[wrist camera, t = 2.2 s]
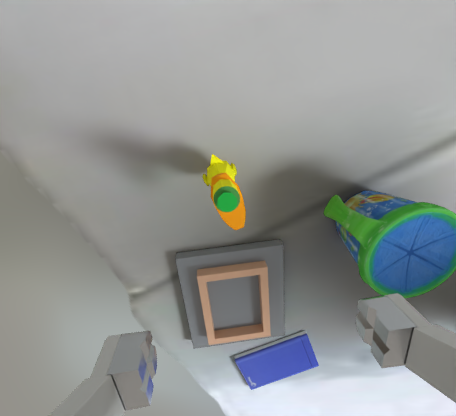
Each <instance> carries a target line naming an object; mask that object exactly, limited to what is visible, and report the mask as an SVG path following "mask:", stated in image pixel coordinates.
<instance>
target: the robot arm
mask: <svg viewBox="0 0 456 416" xmlns="http://www.w3.org/2000/svg"><path fill="white" fill-rule="evenodd" d="M357 308H358V309H359V310H360V312H359V313H358V314H357V315H356V327H357V330H358V333H359V335H360V337H361V338H362V340H363V341H364V342H366V343H367V344H369V345H371V353H372V354H373V356H374V357H375V359H376V360H377V362H378V363H379V365H380V366H381V368H387V367H394V366H402V365H405V367H407V368H408V369H409V370H411V371H412V372H413V373H415V374H416V375H418V376H419V377H420V378H422V379H423V380H425V381H426V382H427V383H429V384H430V385H432V386H433V387H434V388H436V389H437V390H439V391H440V392H441V393H443V394H444V395H446V396H447V397H448V398H450V399H451V400H453V401H454V402H455V403H456V333H454V332H452V331H450V330H447V329H445V328H443V327H441V326H439V325H436V324H435V325H432V324H431V323H430V322H429V321H428V320H427V319H425V318H424V317H423V316H422V315H421V314H420V313H419V312H418V311H417V310H416V309H415V308H414V307H413V306H412V305H411V304H410V303H409V302H408V301H407V300H406V299H405V298H404V297H403V296H402V295H400V294H398V293H396V294H389V295H384V296H377V297H371V298H364V299H359V301H358V304H357ZM151 342H152V335H151V332H150V331H143V332H136V333H127V334H121V335H113V336H108V337H107V339H106V340H105V342H104V345H103V347H102V350H101V352H100V355H99V357H98V359H97V362H96V364H95V367H94V369H93V372H92V374H91V377H90V378H88V379H85V380H84V381H83V382H82V383H81V384H80V385H79V386H78V387H77V388H76V389H75V390H74V391H73V392H72V393H71V394H70V395H69V396H68V397H67V398H66V399H65V400H64V401H63V402H62V403H61V404H60V405H59V406H58V407H57V408H56V409H55V410H54V411H53V412H52V413H51V414H50V415H49V416H123V415H124V414H125V411H126V410H131V409H136V408H141V407H146V406H150V404H151V398H152V392H153V383H152V380H151V379H152V378H153V376H154V375H155V374H156V368H157V354H156V349H155V346H153V345H152V344H151Z"/></svg>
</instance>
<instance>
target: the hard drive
mask: <svg viewBox="0 0 456 416" xmlns="http://www.w3.org/2000/svg"><path fill="white" fill-rule="evenodd" d="M234 359H235V362H236V364H237V366H238V368H239V369H240V371H241V373H242V375H243V376H244V378H245V380H246V382H247V383H248V385H249V387H250V389H251V390H252V389H255V388H258V387H261V386H264V385H266V384H269V383H272V382H275V381H278V380H280V379H283V378H286V377H289V376H292V375H295V374H297V373H300V372H303V371H306V370H309V369H311V368H314V367H317V366H319V365H318V362H317V359H316V357H315V354H314V351H313V349H312V346H311V343H310V341H309V338H308V335H307V333H306V331H302V332H299V333H296V334H294V335H291V336H288V337H285V338H282V339H280V340H277V341H274V342H271V343H269V344H266V345H263V346H260V347H258V348H255V349H252V350H249V351H247V352H244V353H241V354H238V355H236V356H234Z"/></svg>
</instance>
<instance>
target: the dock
mask: <svg viewBox="0 0 456 416" xmlns="http://www.w3.org/2000/svg"><path fill="white" fill-rule="evenodd" d="M175 260H176V265H177V270H178V275H179V280H180V284H181V289H182V294H183V299H184V304H185V309H186V313H187V318H188V323H189V328H190V333H191V338H192V343H193V347H194V349H195V348H202V347H208V346H215V345H222V344H229V343H235V342H242V341H249V340H256V339H262V338H269V337H276V336H282V335H285V315H284V258H283V244H282V242H281V240H280V239H279V240H271V241H264V242H256V243H248V244H241V245H233V246H226V247H218V248H210V249H203V250H195V251H187V252H180V253H176V258H175Z"/></svg>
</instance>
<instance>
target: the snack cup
mask: <svg viewBox="0 0 456 416" xmlns="http://www.w3.org/2000/svg"><path fill="white" fill-rule="evenodd" d="M324 215H325V216H326V217H328V218H331V219H333V220H335V221H336V227H337V232H338V234H339V235H340V237H341V239H342V240H343V242H344V244H345V245H346V247H347V248H348V250H349V252H350V253H351V255H352V257H353V258H354V260H355V261H356V262H357V264H358V267H359V273H360V276H361V278H362V280H363V281H364V282H365V283H367V284H368V285H369V286H370V287H371V288H372V289H373V290H375V291H376V292H377V293H379V294H381V295H383V296H384V295H389V294H396V293H398V294H400V295H402V296H403V297H404V298H410V297H415V296H418V295H421V294H424V293H426V292H429V291H431V290H432V289H434V288H436V287H437V286H439V285H440V284H442V283H443V282H444V281H445V280H447V279H448V278H449V277H450V276H451V275H452V274H453V273H454V271H455V270H456V214H455V213H453V212H452V211H450V210H448V209H446V208H444V207H441V206H438V205H435V204H430V203H425V202H419V203H417V202H414V201H410V200H407V199H403V198H400V197H395V196H392V195H389V194H384V193H380V192H376V191H362V192H361V193H358V194H356V195H354V196H352V197H351V198H349V199H348V200H347V201H346V202H345V203H343V201H342V200H341V198H340V196H337V195H335V196H333V197H332V198H331V199H330V201H329V203H328V204H327V206H326V207H325V210H324Z"/></svg>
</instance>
